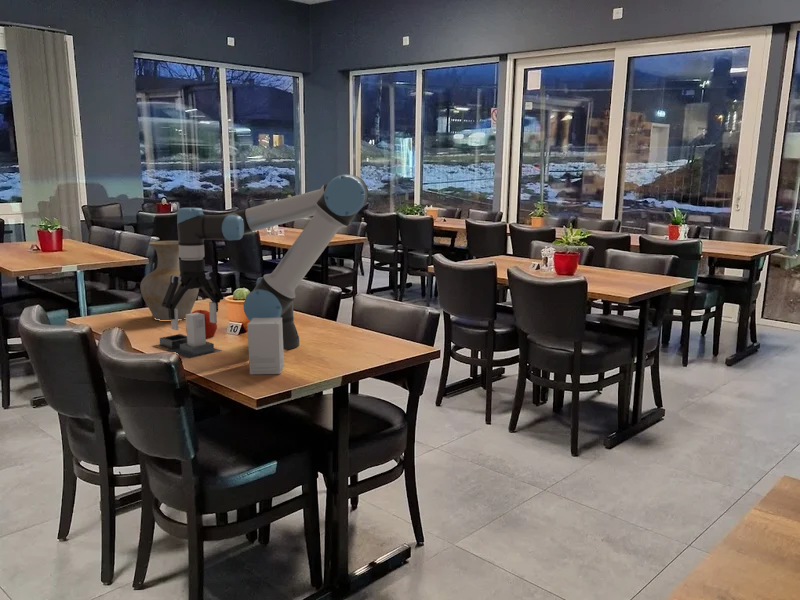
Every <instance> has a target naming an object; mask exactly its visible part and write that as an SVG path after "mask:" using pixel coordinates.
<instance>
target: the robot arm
mask: <svg viewBox="0 0 800 600" xmlns="http://www.w3.org/2000/svg"><path fill="white" fill-rule="evenodd" d="M368 199H369V187H368V186H367V184H366V182H365V181H364V180H363V179H362V178H361V177H359V176H357V175H353V174H346V173H345V174H340V175H339V174H338V175H337V176H335V177H333V178H332V179H331V180H330V181H328V183H325V184H323V185H322V186H321V188H320V189H316V190H315V189H314V190H312V191H308V192H305V193H300V194H297V195H294V196H290V197H289V196H288V197H286V198H281V199H277V200H274V201H271V202H270V201H269V202H267V203H264V204H259V205H256V206H252V207H248V208H246V209H242V210H237V211H233V212H229V213H225V214H204V211H203V208H202V207H181V208H178V210H177V215H176V216H177V217H176V218H177V222H176V226H177V237H178V238H177V239H178V240H177V241H178V244H179V270H180V276H171V277H170V285H169V287H168V290H167V292H166V295H165V298H164V300H163V303H162V307H165V308H168V314H169V319H171V322H170V323H171V325H170V326H171V327H170V328H171V330H174V331H179V330H180V329H179V321H178V309H176V308H175V307H176V306H177V304H178V303H179V301H180V300H181V298H182V297H183V295H184V294H185V292H186V291H188V289H194V288H199V289H201V291H202V292H203V293H204V294H205V295H206V296H207V297H208V299H209V300H210V301H208V303H209V304H208V306H209V309H208V310H209V311H208V312H210V322H212V323H216V324H217V323H218V322H217V321H218V319H217V317H218V316H217V313H218V312H219V303H220V302H221V300H224V295H223V293H222V292H221V290H220V287H219V285H218V284H217V281H216V280H215V274H214V272H213V271H206V272H205V270H206V266H205V265H206V264H205V263H206V262H205V261H206V260H205V259H204V258H205V240H207V241H208V240H213V241H214V240H215V241H216V240H217V241H218V240H219V241H240V240H241V239H243V237H244V235H245V234H249V233H253V232H257V231H259V230H264V229H268V228H271V227H274V226H279V225H282V224H286V223H287V224H288V223H290V222H295V221H297V220H301V219H305V218H310V217H311V218H310V220H309V221H308V223H307V224H306V225H305V227H304V228H303V229H302V231H301V232H300V234H299V235H298V236H297V238H296V239H295V241H294V242H293V243H292V245H291V246H290V248H288V250H287V252H286V253H285V254H284V256H283V257H282V259H281V260H280V261H279V262H278V264H277V266H276V267H275V269H273V270H272V272H271V273H266V274H264V275H263V276H262V277H258V278H257V279H256V283H255V284H256V286H255V287H254V289H252V291H250V292H249V293H248V294H247V295H246V296H245V299H244V302H243V312H244V315H245V317H246V318H247V319H248V320H249V322H250V321H251V319H252V318H282V327H283V351H284V350H285V351H287V350H291V349H295V348H297V347H299V346H300V336H299V334H298V330H297V328H296V325H295V322H294V319H295V318H294V317H295V316H294V299H295V298H296V297H297V296H296V291H295V290H296V288H297V287H298V285H300V283H301V281H302V280H303V279H304V278H305V276H306V275H307V274H308V272H309V271H310V269H311V268H312V267H313V265H314V264H315V263H316V261H317V260H318V259H319V257H320V256H321V255H322V253H323V252H324V251H325V249H326V248H327V247H328V245H329V244H330V242H332V240H333V238H334V237H335V235H336V234H337V233H338V232H339V231H340V229H341V228H348V226H349V225H350V224H351V222H353V220H354V218H355V217H356V216H357V215H358V213H359V212H360V210H361V209H362V208H363V207H365V206H366V204H367V202H368ZM205 279H206V281H207V283H208V284H209V287H210V288H209V287H208V285H207V283H205ZM180 281H181V284H180V286H179V289H178V290H177V292H176V293H175V291H176V289H177V286H178V283H179V282H180ZM184 286H185V287H184ZM174 294H175V295H174Z"/></svg>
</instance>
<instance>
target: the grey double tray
mask: <svg viewBox="0 0 800 600" xmlns="http://www.w3.org/2000/svg"><path fill="white" fill-rule="evenodd" d="M151 347H153V348H155V349H159V350H162V351H165V352H168V353H170V352H176V353H178V354H179V355H178V356H179V357H183V358H187V359H193V358H197V357H201V356H206V355H210V354H211V355H212V354H214V353H219V352H220V353H221V352H223V350H221V349H218V348H215V345H214V343H212V342H209V341H206V345H201V346H197V347H192V346H189V345H188V344H187V335H184V334H182V333H178V334H173V335H167V336H163V337H159V344H155V345H151Z"/></svg>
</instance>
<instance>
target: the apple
mask: <svg viewBox="0 0 800 600" xmlns="http://www.w3.org/2000/svg"><path fill="white" fill-rule="evenodd" d="M192 313H201V314H204V318H205V337H206V339H211V338H213V337H214V336H215V334H216V331H217V330H218V324H217V323H212V322H210V311H208V310H205V309H204V310H203V309H196V310H194V311H191V314H192ZM185 327H186V328H185V329H186V330H185V333H186V334H187V326H186V325H185Z"/></svg>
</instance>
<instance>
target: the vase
mask: <svg viewBox="0 0 800 600" xmlns="http://www.w3.org/2000/svg"><path fill="white" fill-rule="evenodd" d="M148 244H149V245H150V248H152V249H154V250H155V252H156V255H157V264H156V265H157V266H156V268H155V269H154V270H153V271H151V272H149V273H148V274H147V275H145V276H144V277H143V278H142V280H141V282H140V285H139V286H140V293H141V296H142V299H143V301H144V302H145V304H146V305H147V307H148V309H149V311H150V312H151V315H152V319H153V318H156V319H160V320H171V319H169V314H168V308H165V307H162V303H163V300H164V298H165V295H166V292H167V290H168V287H169V285H170V277H171V276H180V270H179V260H180V257H179V244H178V240H158V241H151V242H148ZM180 284H181V281H180V282H179V283H178V286H177V289H176V291H175V293H176V292H177V290H178V289H179V286H180ZM184 287H185V286H184ZM199 290H200V288H194V289H188V291H186V292H185V294H184V295H183V297H182V298H181V300H180V301H179V303H178V304H177V306H176V307H175V308H176V309H178V319H184V318H186V314H191V313H192V310H193V308H194V305H195V303H196V301H197V298H198V294H199ZM174 295H175V294H174Z"/></svg>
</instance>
